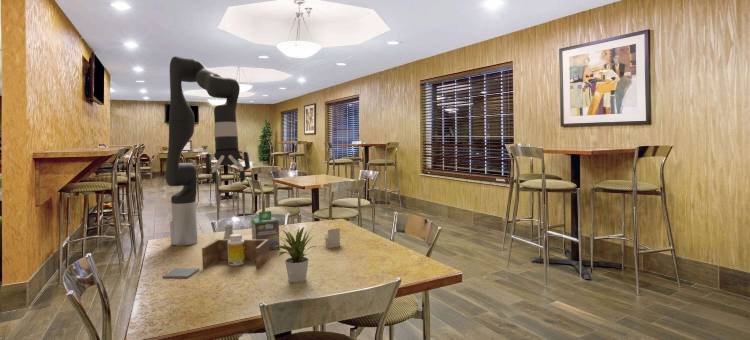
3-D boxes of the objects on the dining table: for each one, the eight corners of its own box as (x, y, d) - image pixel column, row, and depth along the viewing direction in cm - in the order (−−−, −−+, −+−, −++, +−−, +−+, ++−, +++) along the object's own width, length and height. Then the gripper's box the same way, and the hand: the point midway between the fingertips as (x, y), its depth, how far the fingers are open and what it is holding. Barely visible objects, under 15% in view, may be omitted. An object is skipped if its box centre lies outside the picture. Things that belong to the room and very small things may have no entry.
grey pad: (162, 278, 135) (162, 276, 135) (175, 270, 143) (175, 268, 143) (188, 278, 135) (187, 276, 135) (199, 270, 143) (199, 268, 143)
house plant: (279, 271, 141) (278, 221, 140) (322, 271, 140) (321, 221, 139) (267, 286, 127) (266, 231, 125) (314, 286, 126) (313, 231, 125)
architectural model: (323, 247, 172) (322, 228, 171) (337, 244, 177) (337, 226, 176) (328, 248, 169) (327, 229, 169) (342, 245, 174) (342, 227, 173)
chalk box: (275, 244, 176) (273, 208, 175) (280, 249, 168) (279, 211, 167) (251, 247, 172) (250, 210, 171) (256, 252, 164) (254, 213, 163)
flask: (233, 254, 162) (232, 227, 162) (215, 253, 164) (214, 227, 163) (242, 249, 169) (241, 223, 169) (225, 248, 171) (224, 223, 170)
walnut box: (202, 268, 144) (201, 248, 144) (217, 258, 156) (216, 239, 156) (259, 268, 143) (258, 248, 143) (269, 258, 155) (268, 239, 155)
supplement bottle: (246, 265, 148) (245, 235, 147) (229, 267, 146) (228, 237, 145) (243, 260, 153) (242, 232, 152) (227, 263, 151) (226, 234, 150)
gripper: (249, 135, 154) (251, 181, 154) (207, 137, 152) (210, 183, 152) (245, 134, 146) (248, 182, 147) (201, 136, 144) (204, 184, 145)
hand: (229, 182), depth 149 cm, fingers open, 8 cm apart
